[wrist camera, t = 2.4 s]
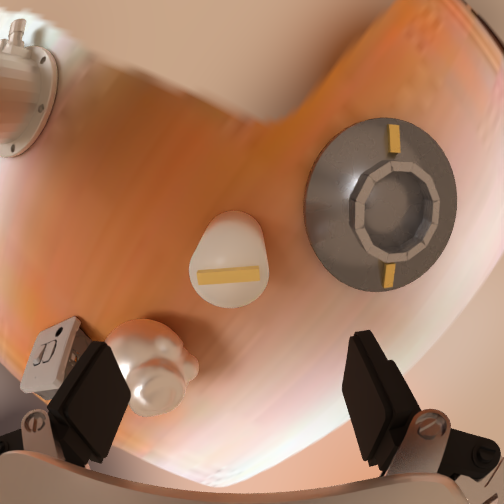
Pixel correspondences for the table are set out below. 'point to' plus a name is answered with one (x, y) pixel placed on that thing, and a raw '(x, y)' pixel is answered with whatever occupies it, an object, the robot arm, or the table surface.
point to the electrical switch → (54, 357)
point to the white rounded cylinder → (230, 261)
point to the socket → (380, 204)
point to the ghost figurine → (152, 365)
